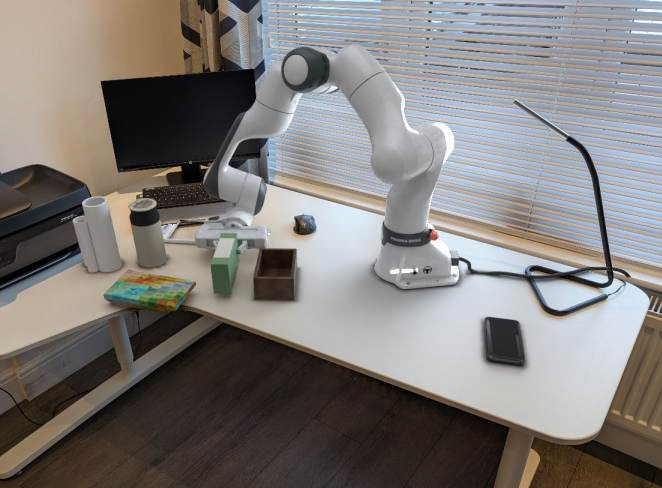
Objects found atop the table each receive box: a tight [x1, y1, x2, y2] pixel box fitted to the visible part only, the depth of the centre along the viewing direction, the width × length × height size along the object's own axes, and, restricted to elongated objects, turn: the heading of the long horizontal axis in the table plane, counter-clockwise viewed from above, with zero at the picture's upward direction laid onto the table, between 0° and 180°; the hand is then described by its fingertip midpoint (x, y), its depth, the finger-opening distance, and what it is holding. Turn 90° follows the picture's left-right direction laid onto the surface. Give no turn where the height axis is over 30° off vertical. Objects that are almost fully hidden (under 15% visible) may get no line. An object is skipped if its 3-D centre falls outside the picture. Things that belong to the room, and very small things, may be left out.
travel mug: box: [127, 197, 168, 268], centre depth 154 cm, size 8×8×18 cm
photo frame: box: [161, 219, 204, 245], centre depth 173 cm, size 15×1×18 cm
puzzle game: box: [102, 269, 197, 314], centre depth 142 cm, size 12×5×20 cm
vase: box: [72, 195, 123, 274], centre depth 152 cm, size 11×7×20 cm, turn 82°
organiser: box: [252, 247, 298, 301], centre depth 146 cm, size 10×15×7 cm
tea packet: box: [209, 233, 240, 295], centre depth 146 cm, size 4×16×9 cm, turn 176°
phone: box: [483, 316, 526, 366], centre depth 126 cm, size 8×1×15 cm
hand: (228, 252), depth 149 cm, fingers closed on tea packet, 4 cm apart
